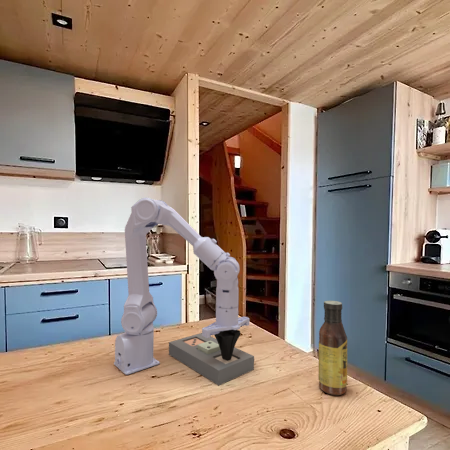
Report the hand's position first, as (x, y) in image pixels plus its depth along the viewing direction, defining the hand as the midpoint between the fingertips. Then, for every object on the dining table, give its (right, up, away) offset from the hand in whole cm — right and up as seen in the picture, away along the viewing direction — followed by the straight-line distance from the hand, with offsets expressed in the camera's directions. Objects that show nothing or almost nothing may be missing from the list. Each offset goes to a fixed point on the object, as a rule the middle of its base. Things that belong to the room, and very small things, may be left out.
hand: (226, 358), depth 78 cm
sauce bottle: (+24, -4, -8) cm, 26 cm away
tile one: (0, -2, 0) cm, 2 cm away
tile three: (-9, -2, +10) cm, 14 cm away
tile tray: (-5, -3, +5) cm, 8 cm away
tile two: (-5, 0, +5) cm, 7 cm away
